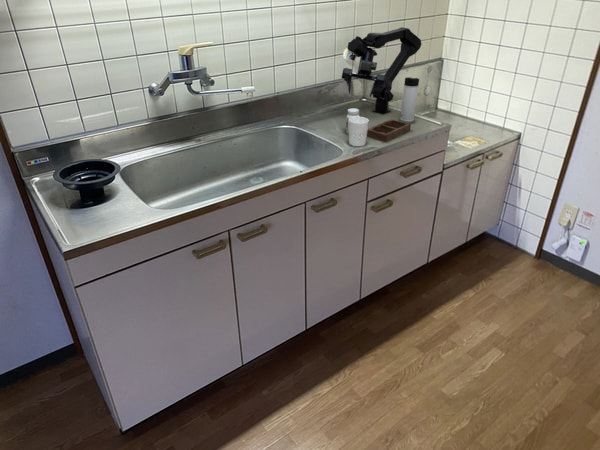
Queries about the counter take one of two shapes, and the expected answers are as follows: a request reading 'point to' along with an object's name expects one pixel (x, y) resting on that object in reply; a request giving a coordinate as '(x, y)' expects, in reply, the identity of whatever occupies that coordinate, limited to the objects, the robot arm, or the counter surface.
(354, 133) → the white cup
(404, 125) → the divided brown tray
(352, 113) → the pill bottle
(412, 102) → the travel mug
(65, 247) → the counter surface
